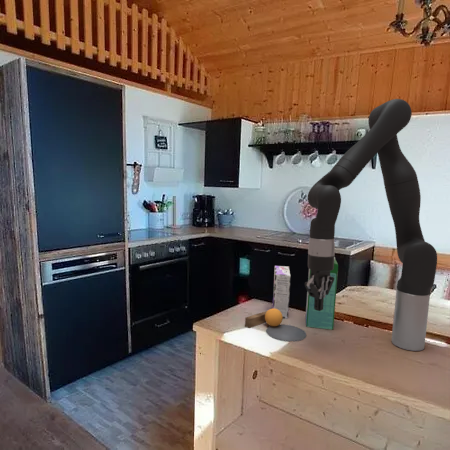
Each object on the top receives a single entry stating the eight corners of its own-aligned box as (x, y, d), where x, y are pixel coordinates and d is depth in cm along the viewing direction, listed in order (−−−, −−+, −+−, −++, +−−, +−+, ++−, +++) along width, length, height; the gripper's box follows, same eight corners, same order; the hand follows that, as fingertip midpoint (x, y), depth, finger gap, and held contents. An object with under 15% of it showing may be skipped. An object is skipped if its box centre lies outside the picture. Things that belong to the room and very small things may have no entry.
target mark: (282, 322, 127) (282, 321, 127) (314, 334, 117) (314, 333, 117) (257, 331, 118) (257, 330, 118) (289, 345, 109) (289, 344, 109)
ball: (274, 323, 127) (272, 306, 127) (287, 325, 122) (285, 307, 123) (262, 327, 123) (260, 309, 123) (275, 329, 118) (273, 311, 119)
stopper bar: (271, 317, 131) (272, 309, 131) (276, 318, 130) (276, 310, 129) (245, 326, 122) (245, 317, 122) (249, 328, 120) (249, 319, 120)
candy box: (272, 305, 145) (274, 265, 143) (287, 306, 144) (289, 266, 142) (272, 317, 131) (274, 273, 129) (288, 318, 130) (291, 274, 128)
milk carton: (333, 330, 122) (338, 257, 119) (306, 326, 123) (311, 255, 120) (330, 320, 130) (336, 252, 128) (305, 317, 132) (310, 250, 129)
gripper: (319, 258, 99) (317, 318, 101) (344, 252, 108) (341, 308, 110) (297, 253, 104) (295, 311, 106) (322, 248, 113) (319, 302, 115)
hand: (318, 309), depth 108 cm, fingers closed
